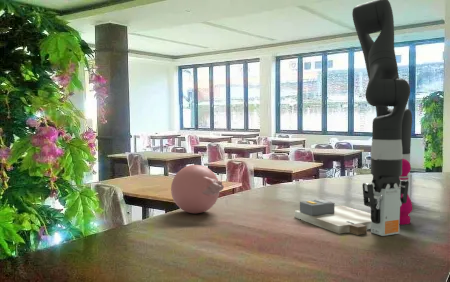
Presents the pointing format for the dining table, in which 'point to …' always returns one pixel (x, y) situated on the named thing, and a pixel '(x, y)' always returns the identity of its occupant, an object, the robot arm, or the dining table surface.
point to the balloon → (195, 189)
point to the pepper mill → (407, 207)
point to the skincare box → (388, 213)
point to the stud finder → (317, 207)
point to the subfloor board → (340, 220)
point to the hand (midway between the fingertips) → (385, 221)
